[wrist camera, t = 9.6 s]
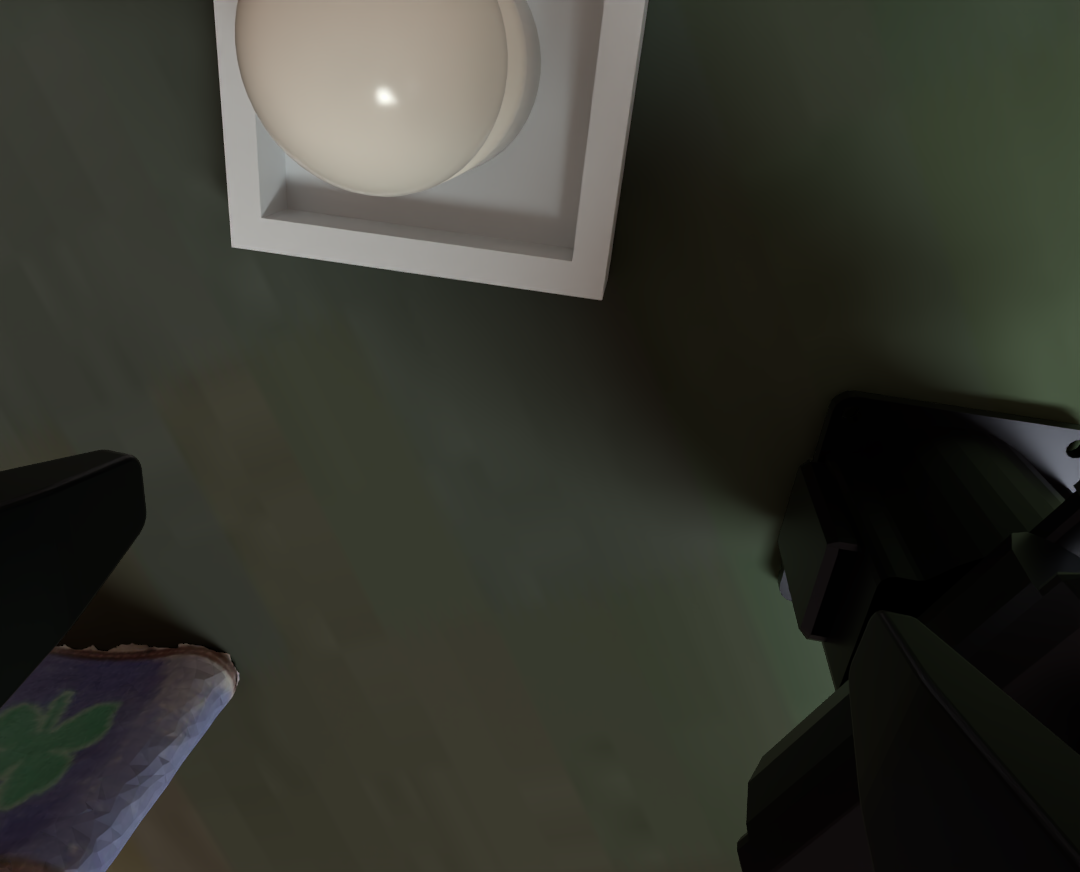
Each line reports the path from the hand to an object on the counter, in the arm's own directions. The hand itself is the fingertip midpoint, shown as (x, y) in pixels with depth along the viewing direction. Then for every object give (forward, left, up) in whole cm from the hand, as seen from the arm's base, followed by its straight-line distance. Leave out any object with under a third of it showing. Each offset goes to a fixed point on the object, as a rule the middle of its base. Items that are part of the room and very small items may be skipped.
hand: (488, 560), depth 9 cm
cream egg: (+4, -5, -11) cm, 13 cm away
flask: (+15, +16, -12) cm, 25 cm away
